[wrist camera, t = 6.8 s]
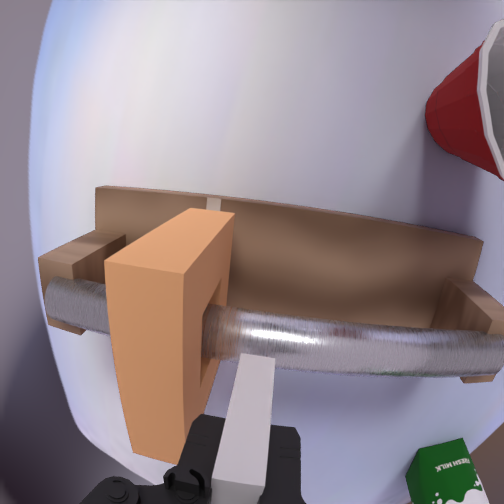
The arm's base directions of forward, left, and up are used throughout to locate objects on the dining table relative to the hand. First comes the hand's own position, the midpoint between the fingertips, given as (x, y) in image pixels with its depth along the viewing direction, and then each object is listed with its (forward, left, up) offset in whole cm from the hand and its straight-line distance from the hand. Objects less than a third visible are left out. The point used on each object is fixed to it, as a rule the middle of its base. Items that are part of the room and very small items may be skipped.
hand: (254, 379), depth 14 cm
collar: (0, -4, -9) cm, 10 cm away
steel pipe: (0, +1, -5) cm, 5 cm away
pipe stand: (0, +1, -12) cm, 12 cm away
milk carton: (+24, +27, -13) cm, 38 cm away
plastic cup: (-15, +14, -13) cm, 24 cm away
